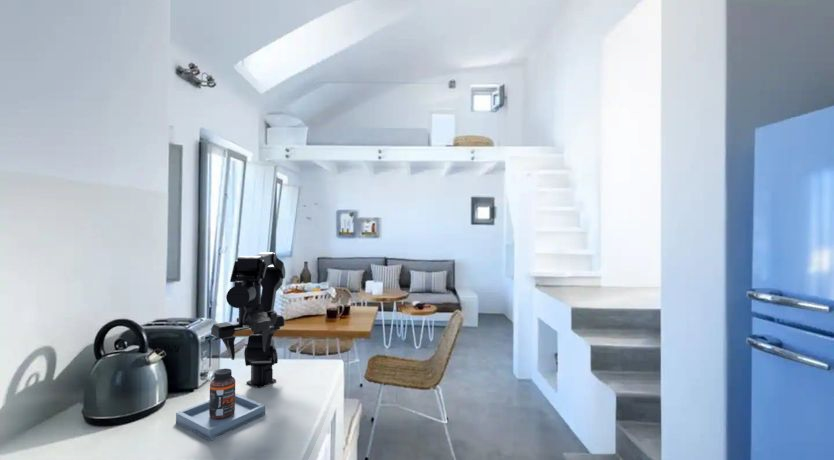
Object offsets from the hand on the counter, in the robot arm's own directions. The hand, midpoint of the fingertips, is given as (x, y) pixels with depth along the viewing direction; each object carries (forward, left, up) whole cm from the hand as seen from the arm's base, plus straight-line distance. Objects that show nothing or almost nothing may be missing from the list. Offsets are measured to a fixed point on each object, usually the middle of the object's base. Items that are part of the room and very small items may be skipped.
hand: (249, 355), depth 111 cm
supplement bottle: (+3, -10, -12) cm, 16 cm away
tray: (+3, -10, -13) cm, 17 cm away
